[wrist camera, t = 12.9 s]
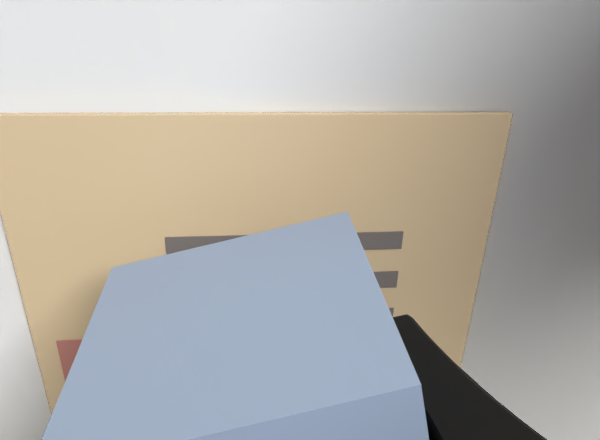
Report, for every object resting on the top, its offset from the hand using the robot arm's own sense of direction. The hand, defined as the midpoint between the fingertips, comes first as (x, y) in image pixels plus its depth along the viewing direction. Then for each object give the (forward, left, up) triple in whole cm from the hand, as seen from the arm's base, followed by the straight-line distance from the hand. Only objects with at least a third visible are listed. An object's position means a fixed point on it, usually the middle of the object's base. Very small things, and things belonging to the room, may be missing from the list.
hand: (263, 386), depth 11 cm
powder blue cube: (0, 0, -2) cm, 2 cm away
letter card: (0, 0, -4) cm, 4 cm away
